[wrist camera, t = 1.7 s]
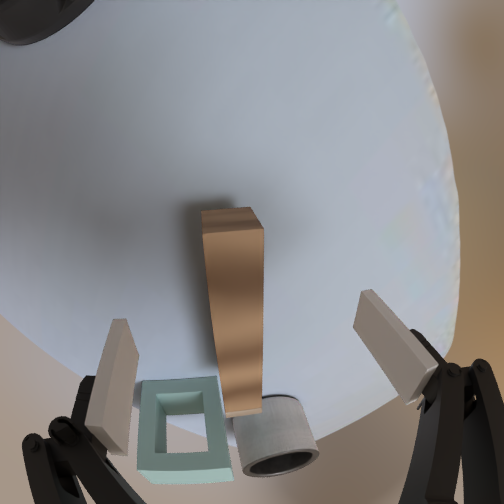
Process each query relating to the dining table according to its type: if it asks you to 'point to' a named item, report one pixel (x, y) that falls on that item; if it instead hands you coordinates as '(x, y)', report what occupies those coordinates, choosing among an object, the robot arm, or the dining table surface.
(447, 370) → the robot arm
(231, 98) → the dining table surface
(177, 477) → the green rectangular frame
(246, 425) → the planter
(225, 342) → the brown wooden long bar
